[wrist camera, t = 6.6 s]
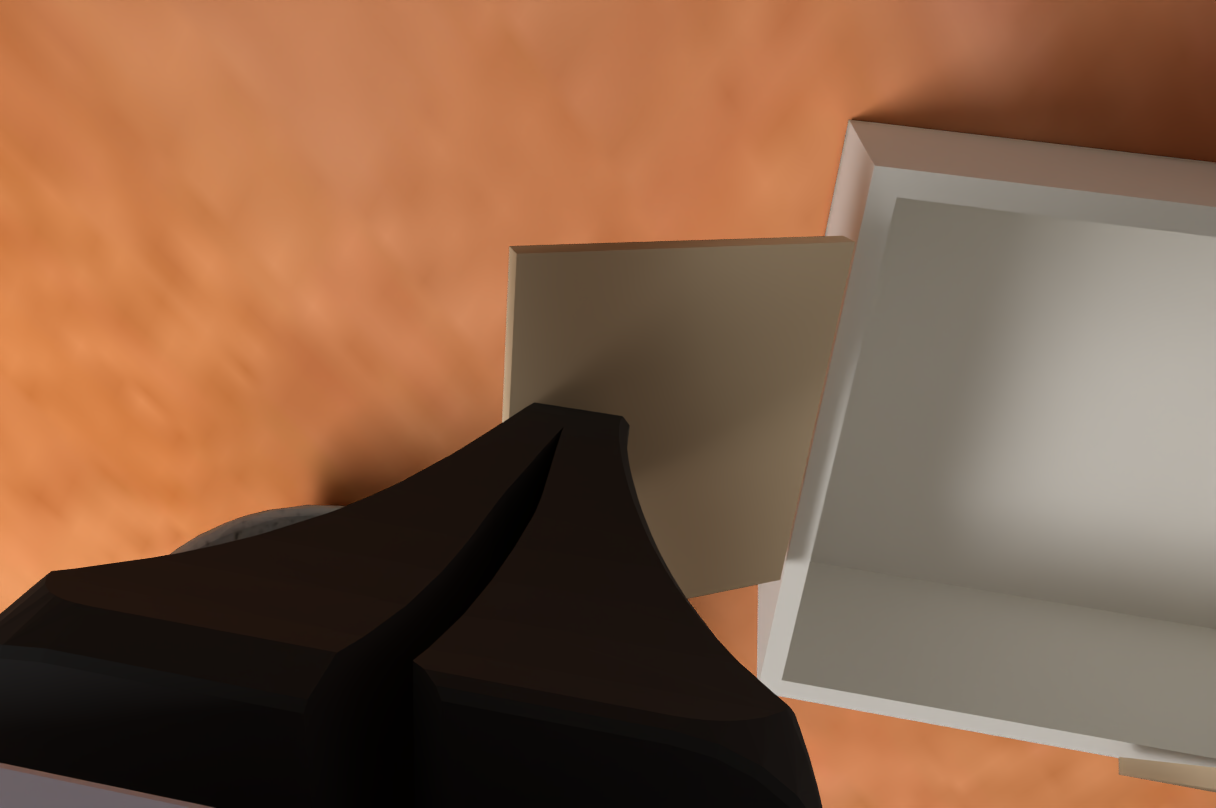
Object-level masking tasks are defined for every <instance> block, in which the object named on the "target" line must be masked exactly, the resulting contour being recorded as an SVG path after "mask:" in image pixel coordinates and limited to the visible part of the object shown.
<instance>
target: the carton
mask: <svg viewBox="0 0 1216 808" xmlns="http://www.w3.org/2000/svg"><path fill="white" fill-rule="evenodd" d="M825 236H845V237H847V238H849V239H851V240H853V241H855V246H854V250H853V255H852V259H851V264H850V268H849V273H848V277H847V282H846V286H845V291H844V295H843V300H842V304H841V309H840V313H839V318H838V322H837V327H836V331H835V336H834V340H833V345H832V349H831V354H830V358H829V363H828V367H827V372H826V376H825V381H824V385H823V390H822V394H821V399H820V403H819V408H818V412H817V417H816V421H815V426H814V430H813V435H812V439H811V444H810V448H809V453H808V457H807V462H806V466H805V471H804V475H803V480H802V484H801V489H800V493H799V498H798V502H797V507H796V511H795V516H794V520H793V525H792V529H791V534H790V538H789V543H788V547H787V552H786V556H785V561H784V565H783V570H782V574H781V579H780V580H777V581H772V582H768V583H763V584H758V638H757V679H758V680H760V681H761V682H762V683H763V684H764V685H765V686H766V687H768V688H769V689H770V690H771V691H772V692H773V693H774V694H776V695H777V696H782V697H787V698H793V699H798V700H803V701H809V702H814V703H820V704H825V705H831V706H836V707H842V708H847V709H853V710H858V711H864V712H869V713H875V714H880V715H886V716H891V717H897V718H902V719H908V720H913V721H919V722H924V723H930V724H935V725H941V726H946V727H952V728H957V729H963V730H968V731H974V732H979V733H984V734H990V735H995V736H1001V737H1006V738H1012V739H1017V740H1023V741H1028V742H1034V743H1039V744H1045V745H1050V746H1056V747H1061V748H1067V749H1072V750H1078V751H1083V752H1089V753H1094V754H1100V755H1105V756H1111V757H1116V758H1119V757H1125V758H1134V759H1143V760H1152V761H1161V762H1170V763H1179V764H1188V765H1197V766H1206V767H1215V768H1216V162H1207V161H1198V160H1190V159H1181V158H1173V157H1164V156H1156V155H1147V154H1139V153H1130V152H1122V151H1113V150H1105V149H1096V148H1087V147H1079V146H1070V145H1062V144H1053V143H1045V142H1036V141H1028V140H1019V139H1011V138H1002V137H994V136H985V135H976V134H968V133H959V132H951V131H942V130H934V129H925V128H917V127H908V126H900V125H891V124H883V123H874V122H866V121H857V120H849V121H848V126H847V131H846V135H845V140H844V145H843V150H842V155H841V160H840V165H839V169H838V174H837V179H836V184H835V189H834V194H833V199H832V204H831V208H830V213H829V218H828V223H827V228H826V233H825Z"/></svg>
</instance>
